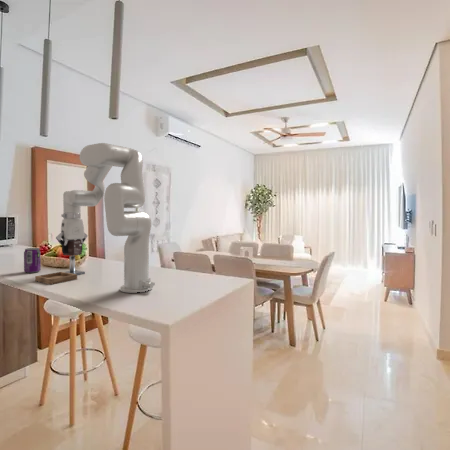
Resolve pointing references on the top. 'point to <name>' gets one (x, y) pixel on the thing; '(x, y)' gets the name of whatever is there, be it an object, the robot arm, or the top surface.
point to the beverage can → (32, 260)
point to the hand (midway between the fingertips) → (72, 252)
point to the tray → (56, 278)
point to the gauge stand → (72, 267)
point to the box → (74, 248)
